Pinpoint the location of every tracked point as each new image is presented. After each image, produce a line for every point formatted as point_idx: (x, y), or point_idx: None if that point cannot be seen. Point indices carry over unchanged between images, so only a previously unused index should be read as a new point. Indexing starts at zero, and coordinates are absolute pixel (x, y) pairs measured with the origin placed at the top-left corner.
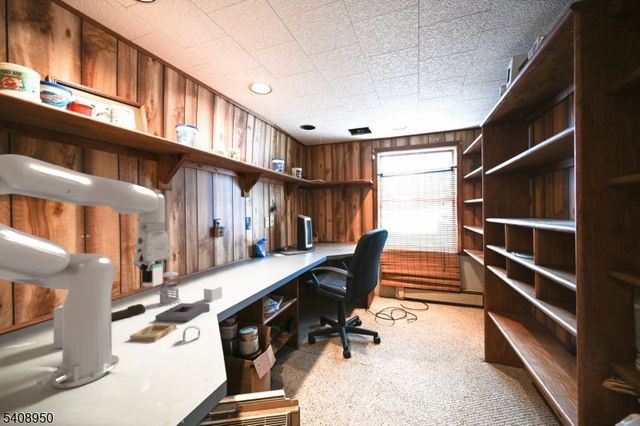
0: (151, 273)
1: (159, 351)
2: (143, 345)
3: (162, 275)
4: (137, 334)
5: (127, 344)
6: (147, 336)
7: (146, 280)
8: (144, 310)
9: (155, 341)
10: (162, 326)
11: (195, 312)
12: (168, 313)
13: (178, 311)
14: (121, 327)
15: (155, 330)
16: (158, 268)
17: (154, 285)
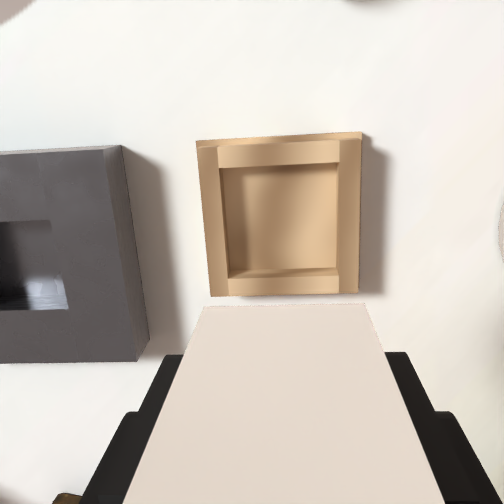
0: (426, 449)
1: (423, 39)
2: (370, 188)
3: (181, 368)
4: (342, 266)
5: (367, 277)
6: (359, 189)
7: (436, 413)
8: (57, 502)
9: (355, 135)
10: (224, 223)
11: (25, 153)
12: (93, 311)
13: (27, 302)
14: None
15: (242, 248)
16: (261, 490)
17: (344, 305)
